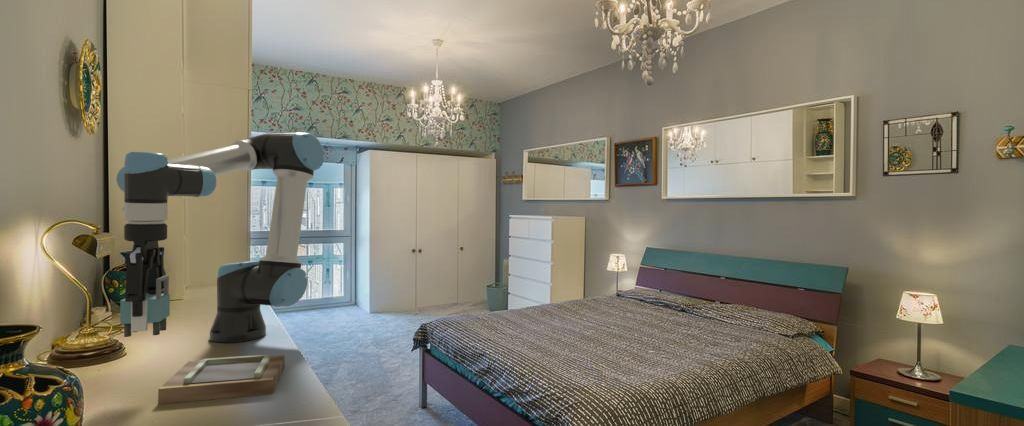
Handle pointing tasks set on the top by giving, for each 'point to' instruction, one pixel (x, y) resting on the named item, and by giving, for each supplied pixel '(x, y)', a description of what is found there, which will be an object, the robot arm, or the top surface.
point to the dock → (223, 378)
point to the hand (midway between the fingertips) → (145, 326)
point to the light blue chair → (150, 309)
